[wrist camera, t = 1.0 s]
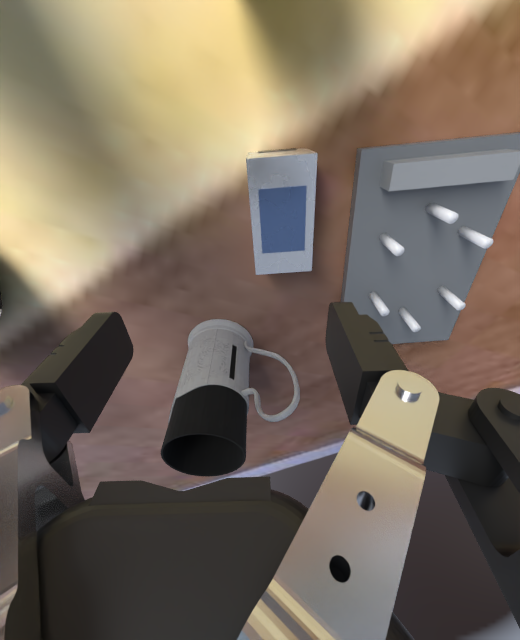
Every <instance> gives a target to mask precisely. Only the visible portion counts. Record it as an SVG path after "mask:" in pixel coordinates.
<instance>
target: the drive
mask: <svg viewBox="0 0 520 640" xmlns="http://www.w3.org/2000/svg"><path fill="white" fill-rule="evenodd" d="M246 163H247V175H248V187H249V199H250V210H251V222H252V234H253V246H254V258H255V269H256V275H260V274H275V273H289V272H304V271H312V254H313V234H314V213H315V193H316V173H317V153H316V152H314V151H312V150H309V149H307V148H298V149H296V148H291V149H279V150H267V151H258V152H249V153H247V157H246Z"/></svg>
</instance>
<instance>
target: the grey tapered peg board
mask: <svg viewBox="0 0 520 640" xmlns="http://www.w3.org/2000/svg"><path fill="white" fill-rule="evenodd" d="M519 173H520V132H515V133H505V134H495V135H485V136H475V137H465V138H456V139H446V140H436V141H426V142H416V143H406V144H396V145H386V146H376V147H366V148H357V155H356V164H355V173H354V182H353V192H352V201H351V210H350V219H349V229H348V238H347V247H346V257H345V266H344V275H343V284H342V294H341V302H352V303H353V305H354V307H355V308H356V310H357V312H358V314H359V315H364V314H367V315H368V316H369V317H371V318H372V319H374V320H375V321H376V322H378V324H379V326H380V327H381V329H382V330H383V333H384V334H385V335H386V336H387V338H388V341H389V342H390V343H391V344H398V343H412V342H425V341H439V340H448V339H449V337H450V334H451V332H452V329H453V327H454V325H455V322H456V320H457V318H458V315H459V313H460V311H461V310H462V309H464V308H465V303H464V301H465V299H466V297H467V294H468V292H469V290H470V287H471V285H472V283H473V280H474V278H475V276H476V273H477V271H478V269H479V266H480V264H481V262H482V259H483V257H484V255H485V252H486V250H487V248H489V247H490V246H491V245H492V244H493V240H492V239H491V238H492V236H493V234H494V231H495V229H496V227H497V224H498V222H499V220H500V217H501V215H502V213H503V210H504V208H505V206H506V203H507V201H508V199H509V196H510V194H511V192H512V189H513V187H514V185H515V182H516V180H517V178H518V175H519Z"/></svg>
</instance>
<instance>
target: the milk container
mask: <svg viewBox="0 0 520 640" xmlns="http://www.w3.org/2000/svg"><path fill="white" fill-rule="evenodd" d="M1 312H2V300H1V293H0V316H1Z"/></svg>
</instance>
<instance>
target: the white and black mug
mask: <svg viewBox="0 0 520 640" xmlns="http://www.w3.org/2000/svg"><path fill="white" fill-rule="evenodd" d="M188 348H189V350H188V353H187V357H186V360H185V363H184V367H183V370H182V374H181V377H180V380H179V384H178V387H177V391H176V394H175V397H174V401H173V404H172V408H171V411H170V416H169V422H168V428H167V432H166V435H165V439H164V442H163V446H162V449H161V456H162V459H163V460H164V462H165V463H166V464H167V465H169V466H170V467H171V468H173V469H175V470H177V471H180V472H182V473H186V474H190V475H195V476H218V475H224V474H228V473H230V472H233V471H235V470H237V469H238V468H240V467H241V466H242V465H243V464H244V462H245V458H246V427H247V414H248V409H249V394H254V399H255V407H256V410H257V412H258V414H259V415H260V416H261V417H262V418H263V419H265V420H267V421H270V422H278V421H280V420H283V419H285V418H286V417H288V416H289V415H291V414H292V412H293V411H294V410H295V409H296V408H297V405H298V402H299V400H300V388H299V384H298V380H297V376H296V374H295V373H294V371H293V369H292V367H291V366H290V365H289V363H288V362H287V361H286V360H285V359H284V358H283V357H281V356H280V355H279V354H276V353H273V352H269V351H266V350H262V349H257V348H253V340H252V337H251V335H250V334H249V332H248V331H247V330H246V329H245V328H244V327H242V326H241V325H239V324H237V323H235V322H232V321H229V320H224V319H212V320H208V321H205V322H202V323H200V324H199V325H197V326H196V327H195V328H194V329H193V330H192V331H191V332H190V335H189V337H188ZM252 352H253V353H257V354H261V355H266V356H269V357H272V358H275V359H277V360H279V361H280V362H282V363H283V364H284V365H285V366H286V367H287V368H288V370H289V372H290V374H291V376H292V379H293V383H294V397H293V400H292V403H291V404H290V405H289V406H288V407H287V408H286V409H285V410H284V411H282V412H281V413H279V414H276V415H267V414H265V413H264V412H263V411H262V409H261V404H260V395H259V393H258V392H257V391H256V390H255V389H253V388H249V370H250V356H251V354H252Z"/></svg>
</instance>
